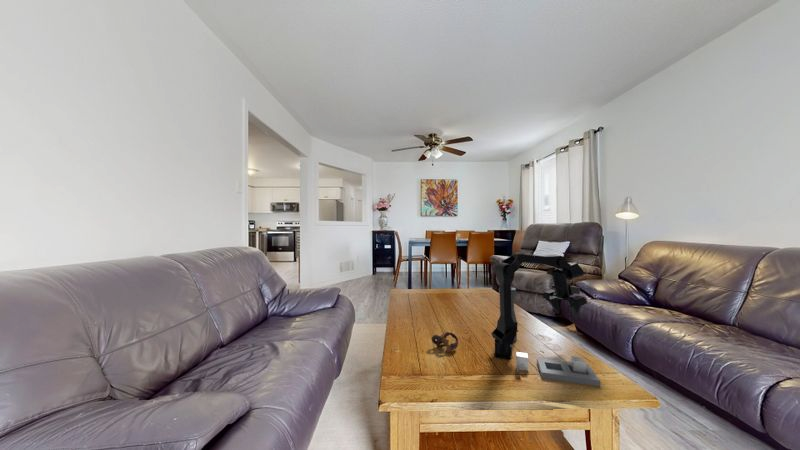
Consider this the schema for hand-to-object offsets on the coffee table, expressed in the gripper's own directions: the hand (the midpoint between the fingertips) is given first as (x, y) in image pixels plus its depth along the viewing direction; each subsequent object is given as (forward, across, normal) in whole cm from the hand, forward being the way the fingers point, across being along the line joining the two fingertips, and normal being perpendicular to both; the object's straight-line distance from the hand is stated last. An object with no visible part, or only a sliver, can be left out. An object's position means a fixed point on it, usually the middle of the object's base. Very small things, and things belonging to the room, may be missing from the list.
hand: (567, 315), depth 128 cm
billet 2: (+11, -20, +20) cm, 30 cm away
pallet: (+11, -17, +23) cm, 31 cm away
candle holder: (+11, +18, +19) cm, 29 cm away
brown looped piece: (+4, +19, +54) cm, 57 cm away
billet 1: (+8, -8, +35) cm, 37 cm away
